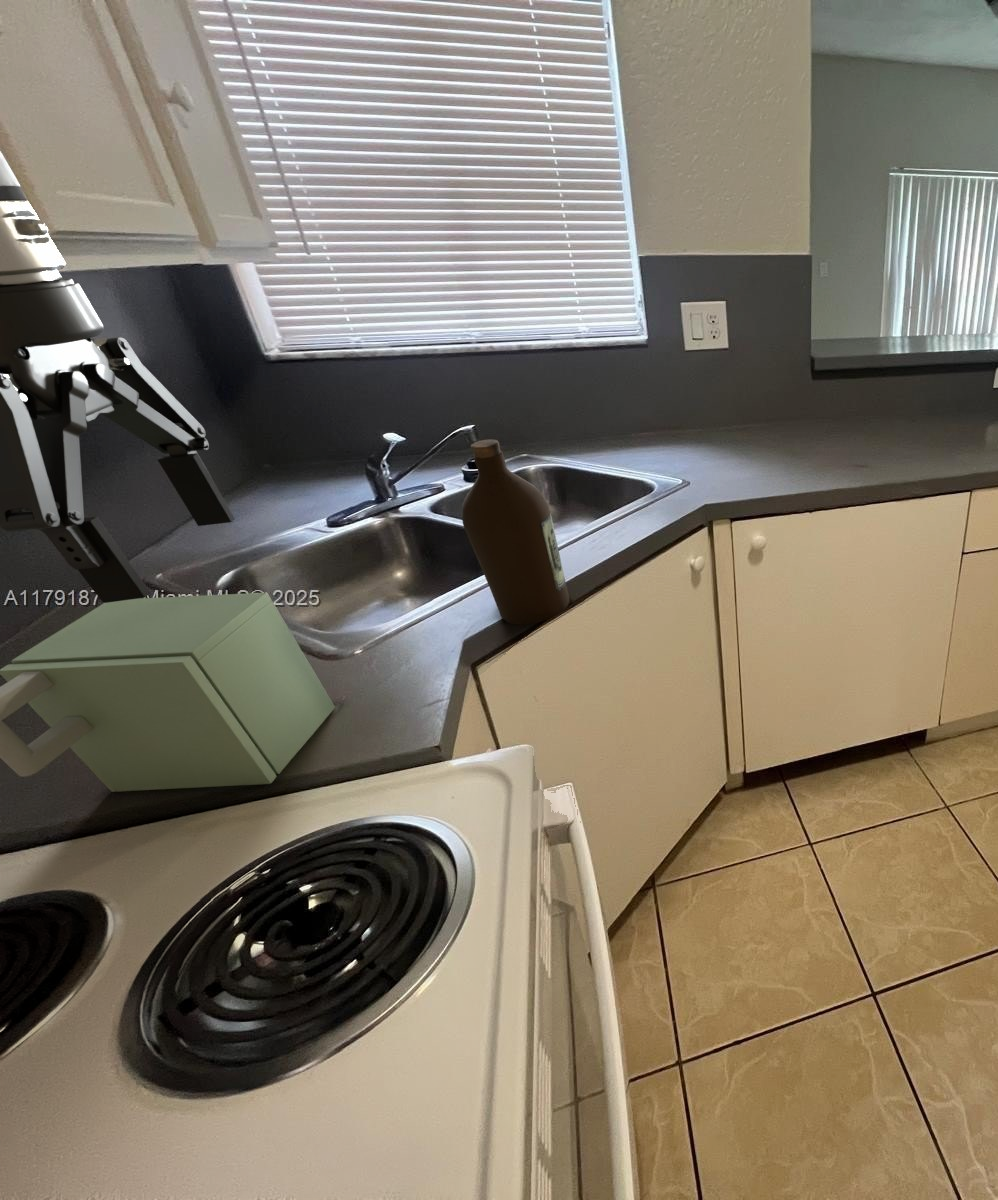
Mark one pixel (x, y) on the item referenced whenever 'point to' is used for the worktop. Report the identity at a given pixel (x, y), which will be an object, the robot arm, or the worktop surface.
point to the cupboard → (211, 659)
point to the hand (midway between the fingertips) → (177, 556)
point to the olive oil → (513, 540)
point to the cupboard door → (130, 724)
